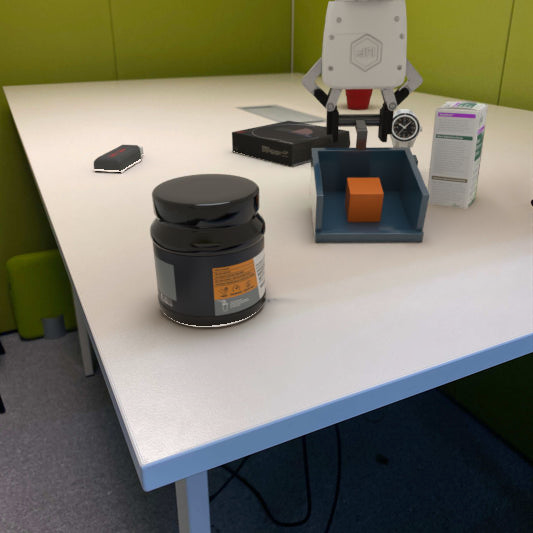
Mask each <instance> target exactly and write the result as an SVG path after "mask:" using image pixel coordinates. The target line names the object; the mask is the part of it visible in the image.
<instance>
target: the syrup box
mask: <svg viewBox="0 0 533 533" xmlns="http://www.w3.org/2000/svg"><path fill="white" fill-rule="evenodd" d="M488 108H489V105H488V103H485V102H478V101H470V100H469V101H468V100H466V101H465V100H455V101H446V102H445V103H444V104H441V105H440V106H437V107H436V108H435V111H434V112H435V114H434V124H433V132H432V140H431V141H432V143H431V150H430V162H429V172H428V182H427V190H428V193H429V195H430V196H429V201H428V204H430V205H438V206H443V207H450V208H457V209H464V210H468V209H469V207H471V205H472V204H473V203H474V201H475V199H476V197H477V190H478V181H479V174H480V169H481V168H480V167H481V160H482V153H483V148H484V147H483V146H484V140H485V139H484V137H485V130H486V122H487V115H488V110H489V109H488Z"/></svg>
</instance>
